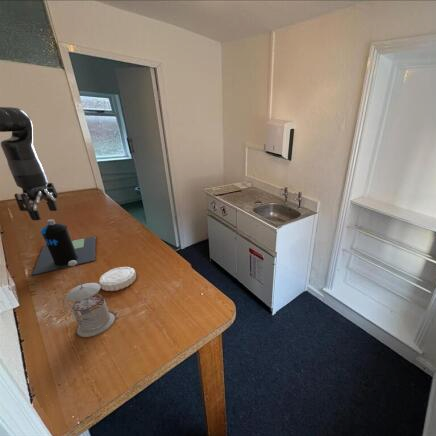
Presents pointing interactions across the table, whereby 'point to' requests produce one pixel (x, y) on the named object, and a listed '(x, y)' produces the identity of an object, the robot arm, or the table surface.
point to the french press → (86, 300)
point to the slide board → (46, 264)
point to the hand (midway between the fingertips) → (45, 215)
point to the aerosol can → (59, 243)
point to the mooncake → (117, 278)
